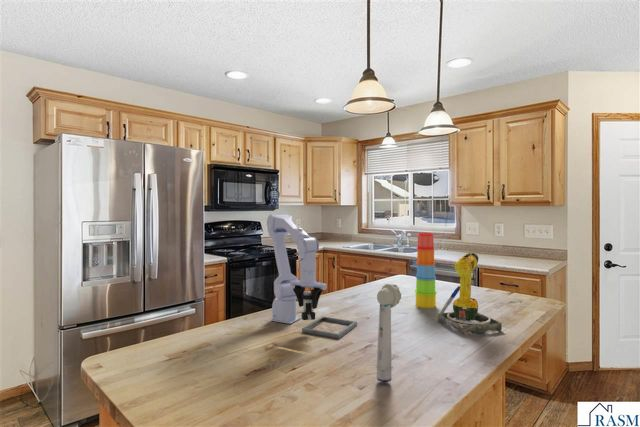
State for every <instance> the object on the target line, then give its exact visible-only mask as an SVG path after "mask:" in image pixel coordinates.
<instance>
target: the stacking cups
mask: <svg viewBox="0 0 640 427" xmlns="http://www.w3.org/2000/svg"><path fill="white" fill-rule="evenodd" d="M434 245H435V244H434V235H433V233H431V232H419V233H418V234H417V247H416V249H417V250H416V251H417V252H416V254H417V255H416V256H417V257H416V259H417V260H416V261H415V262H416V263H415V264H416V275H415V278H416V283H415V284H416V288H415V290H414V292H415V306H416V307H418V308H422V309H433V308H435V307H436V305H437V304H436V301H437V300H436V299H437V296H436V295H437V293H438V292H437V291H436V279H437V277H436V272H435V271H436V266H435V265H436V262H435V249H436V248H435V247H434Z"/></svg>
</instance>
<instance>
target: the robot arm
mask: <svg viewBox="0 0 640 427" xmlns="http://www.w3.org/2000/svg"><path fill="white" fill-rule="evenodd" d="M266 227H267V233H268V236H269V237H270V238H271V241H272V246H273V250H274V256H275V262H276V267H277V270H278V276H277V277H276V278H275V279H274V281H273V292H274V297H275V298H274V299H273V302H272V304H271V306H272V307H271V308H272V309H271V311H272V313H271V314H272V316H271V321H272V322H276V323H277V322H278V323H284V324H288V325H289V324H293V323H295V322H297V321H299V320H300V319H298V318H301V316H297V304H298V306H299V308H301V307H302V308H303V303H304V299H302V296H301V294H303V293H304V292H305V291H306V290H305V289H306V288H308V289H309V288H310V291H311V294H312V307H313V310H314V309H317V308H318V304H319V300H320V299H321V298H320V297H321V295H322V293H323V291H325V290H327V288H328V287H327V283H323V282H319V281H316V279H317V276H316V275H317V274H316V273H317V271H316V270H317V266H316V265H317V264H316V262H317V261H316V258H317V257H316V255H317V253H318V251H319V248H320V243H319V240H318V239H317V237H316V236H310V235H309V234H308V233H307V232H306V231H305V230H304V229H303V228H302V227H297V225H296V224H295V223H294V219H293V216H292V215H291V214H269V215H268V216H267V220H266ZM289 234H290V236H289V237H290V239H291V240H292V241H293V242H294V244H295V245H296V248H297V252H298V257H299V259H300V260H299V261H300V263H299V266H300V267H299V268H300V270H299V271H300V272H299V275H300V277H299V279H298V277H297V276H296V275H294V274H293V273H292V271H291V265H290V262H289V257H288V256H289V255H288V250H287V248H286V243H285V242H286V241H285V237H287V236H288V235H289Z"/></svg>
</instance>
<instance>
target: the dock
mask: <svg viewBox="0 0 640 427" xmlns="http://www.w3.org/2000/svg"><path fill="white" fill-rule="evenodd" d="M323 322H330V323H336V324H343V325H347V326H346V327H345V328H343V329H342V330H340V331H339V332H338V333H337V332H330V331H324V330H319V329H314V328H316V326H318V325H320V324H321V323H323ZM356 326H358V321H356V320H350V319H349V320H348V319H344V318H343V319H342V318H335V317H329V316H321V317H319V318H317V319H316V320H314V321H312V322H311V323H309V324H307V325H306V326H304V327H302V328H301V332H302V334H303V333H304V334H309V335H313V336H314V335H315V336H320V337H325V338H330V339H336V340H340V339H342V337H344V336H345V335H346V334H348V333H349V332H351V331H352V330H353V329H354V328H356Z"/></svg>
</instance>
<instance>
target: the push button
mask: <svg viewBox="0 0 640 427" xmlns="http://www.w3.org/2000/svg"><path fill="white" fill-rule="evenodd" d="M301 296H302V299H304V303H303V306H302V308H303V309H302V311H301V313H300V314H301V315H300V318H298V319H299V320H302V321H311V320H312V321H313V320H314V321H316V320H315V319H316V312H315V311H314V309H313V307H312V294H311V290H309V291H306V290H305V292H304V293H303V294H301Z"/></svg>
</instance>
